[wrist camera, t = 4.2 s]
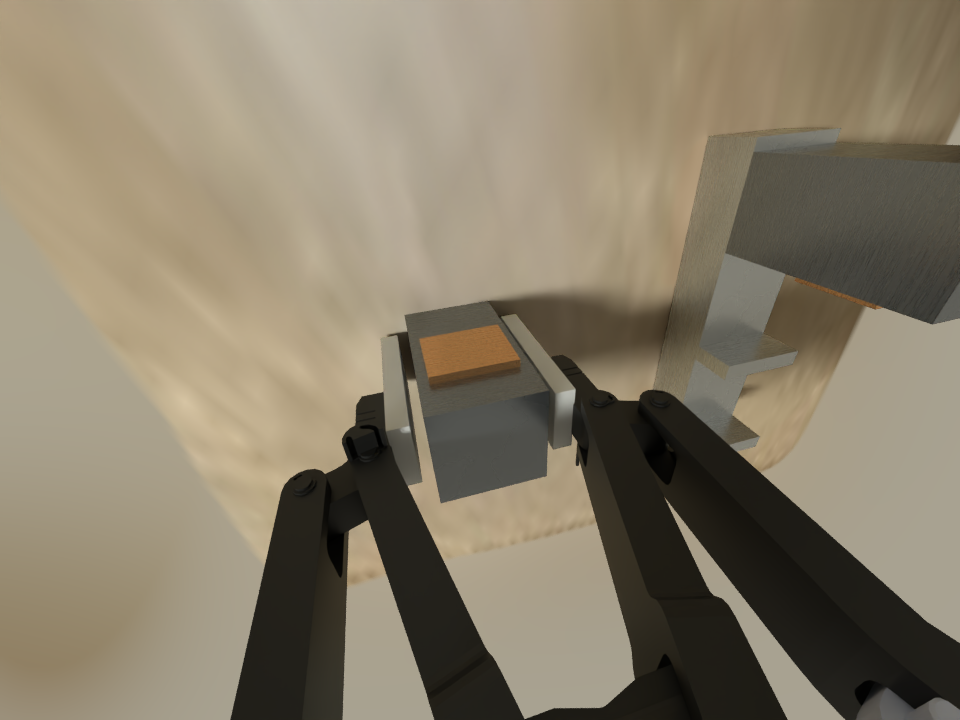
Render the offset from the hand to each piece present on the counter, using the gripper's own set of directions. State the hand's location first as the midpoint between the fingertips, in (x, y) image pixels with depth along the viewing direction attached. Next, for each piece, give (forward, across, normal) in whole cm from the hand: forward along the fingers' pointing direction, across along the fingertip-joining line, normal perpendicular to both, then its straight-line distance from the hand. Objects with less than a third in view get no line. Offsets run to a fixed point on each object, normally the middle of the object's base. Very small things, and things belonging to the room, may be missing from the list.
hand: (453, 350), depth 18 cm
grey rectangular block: (0, 0, 0) cm, 0 cm away
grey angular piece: (0, +14, 0) cm, 15 cm away
